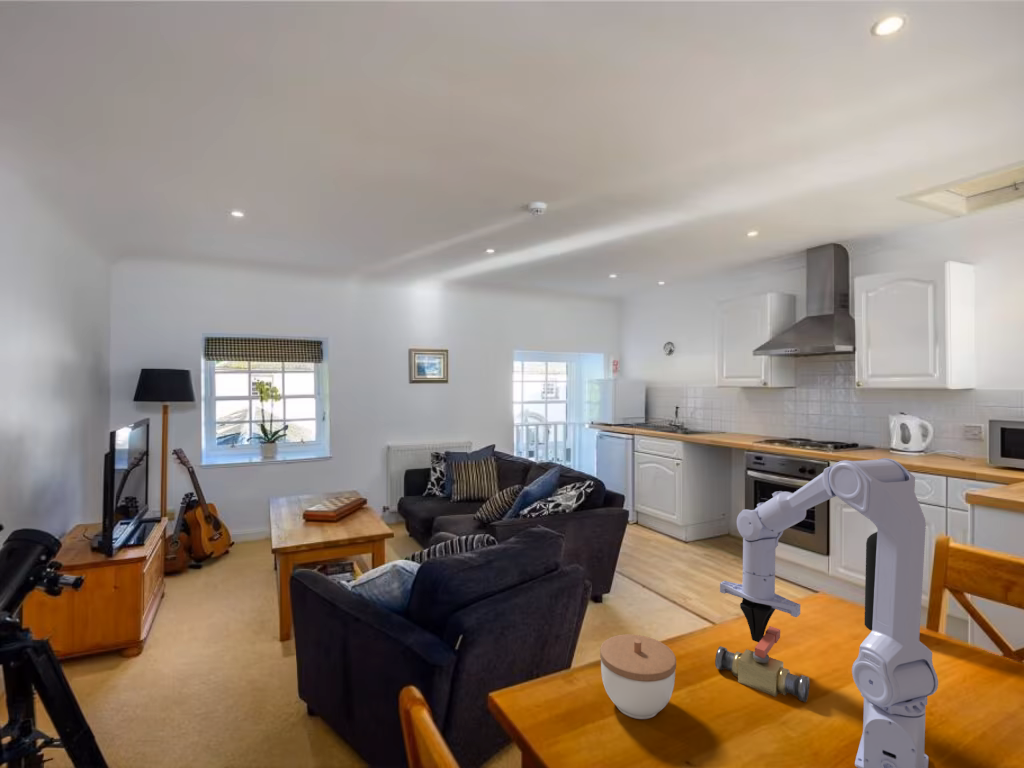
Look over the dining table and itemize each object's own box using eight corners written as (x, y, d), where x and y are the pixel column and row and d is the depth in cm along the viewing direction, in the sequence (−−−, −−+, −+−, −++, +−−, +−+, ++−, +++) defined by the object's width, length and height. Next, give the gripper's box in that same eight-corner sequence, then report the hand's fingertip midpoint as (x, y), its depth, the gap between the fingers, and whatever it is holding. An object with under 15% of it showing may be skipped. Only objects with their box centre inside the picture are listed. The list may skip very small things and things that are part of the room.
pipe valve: (809, 695, 90) (810, 671, 90) (803, 708, 86) (804, 683, 86) (723, 662, 100) (723, 641, 99) (714, 673, 96) (714, 650, 96)
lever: (766, 664, 91) (766, 652, 91) (751, 659, 93) (751, 646, 93) (781, 641, 99) (782, 629, 99) (767, 636, 101) (767, 625, 101)
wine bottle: (857, 624, 115) (859, 494, 115) (876, 618, 119) (879, 491, 118) (893, 640, 109) (896, 501, 108) (913, 633, 112) (916, 498, 111)
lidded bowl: (644, 676, 95) (644, 618, 94) (691, 719, 83) (693, 652, 83) (585, 692, 90) (586, 630, 90) (628, 739, 78) (629, 669, 78)
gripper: (806, 576, 96) (805, 647, 96) (731, 556, 107) (730, 619, 107) (793, 586, 91) (791, 661, 91) (715, 564, 102) (714, 630, 102)
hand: (757, 639), depth 99 cm, fingers closed, pressing on lever
